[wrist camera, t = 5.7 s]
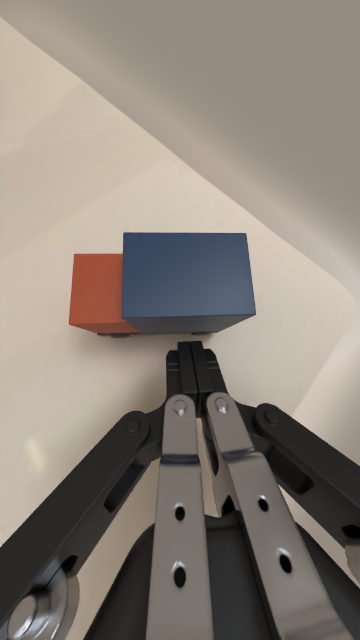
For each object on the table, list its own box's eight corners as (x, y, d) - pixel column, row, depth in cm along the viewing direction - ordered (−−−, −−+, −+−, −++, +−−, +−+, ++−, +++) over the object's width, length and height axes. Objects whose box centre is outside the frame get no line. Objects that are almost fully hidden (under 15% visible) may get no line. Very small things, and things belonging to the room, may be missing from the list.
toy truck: (211, 286, 19) (246, 231, 11) (215, 334, 18) (256, 316, 10) (106, 287, 19) (53, 229, 10) (104, 338, 18) (43, 322, 9)
